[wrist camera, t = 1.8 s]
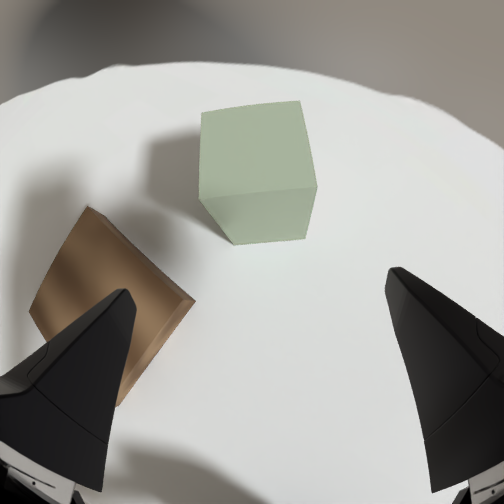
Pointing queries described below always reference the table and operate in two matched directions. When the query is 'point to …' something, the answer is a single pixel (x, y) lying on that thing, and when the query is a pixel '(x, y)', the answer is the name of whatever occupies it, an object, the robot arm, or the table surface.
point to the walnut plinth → (109, 290)
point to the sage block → (257, 172)
